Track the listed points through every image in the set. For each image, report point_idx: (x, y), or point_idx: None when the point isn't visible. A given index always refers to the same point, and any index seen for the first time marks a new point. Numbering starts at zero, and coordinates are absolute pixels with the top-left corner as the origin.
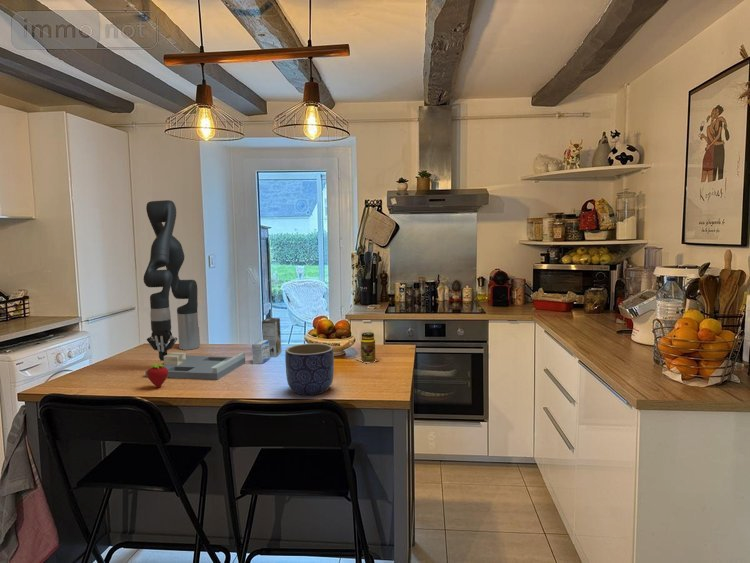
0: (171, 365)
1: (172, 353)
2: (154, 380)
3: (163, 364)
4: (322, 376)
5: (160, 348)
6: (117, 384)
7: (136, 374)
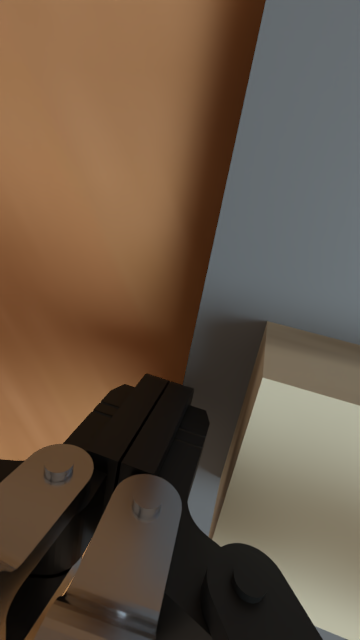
0: None
1: (292, 450)
2: None
3: (210, 470)
4: None
5: (54, 599)
6: None
7: None
